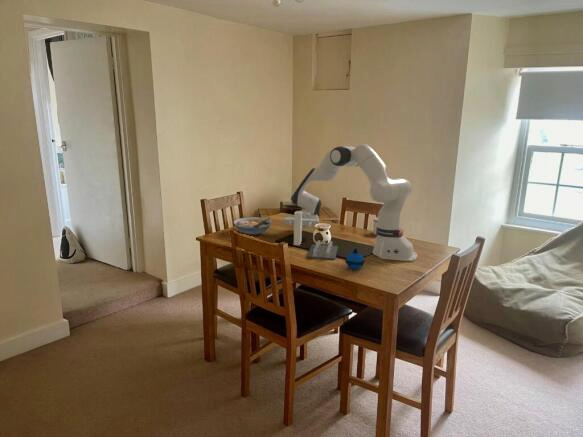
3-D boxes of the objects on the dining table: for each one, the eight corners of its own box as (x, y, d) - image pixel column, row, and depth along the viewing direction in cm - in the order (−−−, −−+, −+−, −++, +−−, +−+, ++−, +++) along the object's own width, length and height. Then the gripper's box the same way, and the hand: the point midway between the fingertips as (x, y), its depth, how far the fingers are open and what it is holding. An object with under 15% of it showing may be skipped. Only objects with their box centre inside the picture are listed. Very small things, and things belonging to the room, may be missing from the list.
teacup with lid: (381, 236, 258) (382, 217, 255) (369, 233, 264) (370, 214, 261) (393, 233, 265) (395, 214, 263) (381, 230, 272) (382, 211, 269)
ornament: (352, 264, 209) (353, 245, 207) (367, 269, 204) (368, 249, 201) (341, 269, 203) (342, 248, 201) (356, 274, 197) (357, 253, 195)
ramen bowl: (243, 226, 274) (243, 214, 272) (278, 230, 267) (278, 217, 265) (226, 237, 251) (225, 223, 249) (262, 241, 244) (263, 227, 242)
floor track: (312, 246, 237) (312, 240, 236) (337, 247, 235) (338, 241, 234) (306, 257, 218) (306, 251, 217) (334, 259, 216) (335, 253, 215)
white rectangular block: (295, 242, 244) (295, 211, 239) (301, 242, 243) (302, 211, 239) (293, 245, 239) (294, 213, 234) (300, 245, 238) (300, 213, 234)
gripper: (285, 213, 256) (281, 218, 243) (320, 214, 253) (317, 220, 240) (285, 223, 258) (281, 229, 245) (320, 225, 254) (317, 231, 241)
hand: (299, 225), depth 242 cm, fingers open, 8 cm apart
